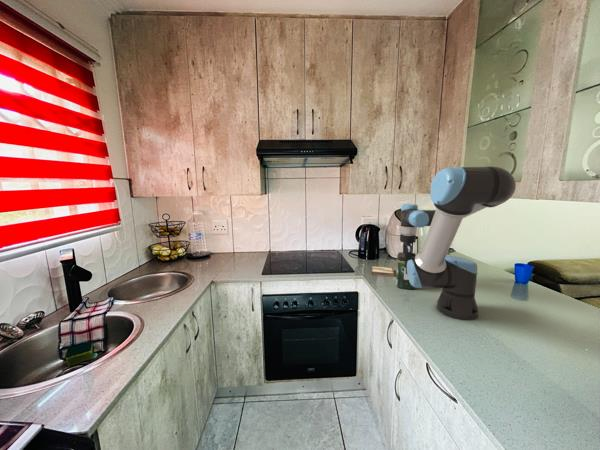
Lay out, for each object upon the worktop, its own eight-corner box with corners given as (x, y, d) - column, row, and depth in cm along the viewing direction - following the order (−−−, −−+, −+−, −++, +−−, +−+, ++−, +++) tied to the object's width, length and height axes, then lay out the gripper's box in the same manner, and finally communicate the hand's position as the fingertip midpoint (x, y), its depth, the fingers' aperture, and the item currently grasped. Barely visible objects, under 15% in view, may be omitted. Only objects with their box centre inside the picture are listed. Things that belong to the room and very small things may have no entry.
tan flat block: (394, 276, 148) (394, 273, 147) (371, 274, 151) (371, 271, 151) (392, 270, 158) (392, 267, 158) (371, 268, 162) (371, 266, 161)
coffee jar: (414, 285, 135) (416, 251, 132) (415, 290, 128) (417, 255, 125) (395, 282, 139) (397, 250, 136) (395, 288, 131) (397, 254, 128)
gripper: (398, 230, 139) (396, 269, 143) (402, 238, 120) (400, 283, 123) (412, 230, 137) (410, 270, 141) (419, 238, 118) (416, 284, 121)
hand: (405, 276), depth 132 cm, fingers closed on coffee jar, 8 cm apart
